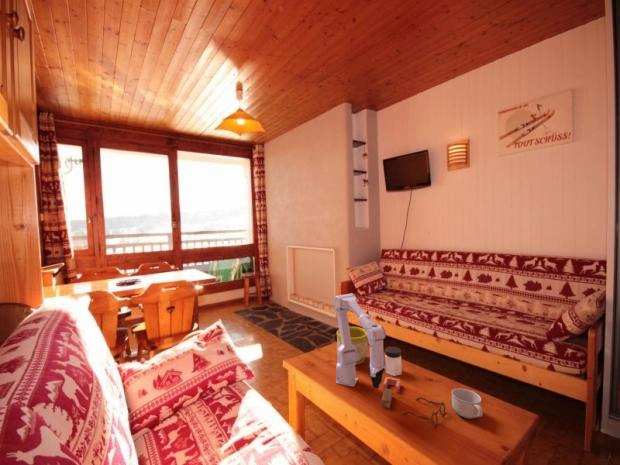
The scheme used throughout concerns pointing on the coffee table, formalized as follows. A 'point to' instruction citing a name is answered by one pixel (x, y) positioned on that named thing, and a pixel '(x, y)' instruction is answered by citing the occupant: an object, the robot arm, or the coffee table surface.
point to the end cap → (392, 383)
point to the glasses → (432, 413)
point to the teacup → (466, 403)
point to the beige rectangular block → (386, 398)
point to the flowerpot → (357, 342)
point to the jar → (393, 361)
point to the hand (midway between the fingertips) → (377, 385)
